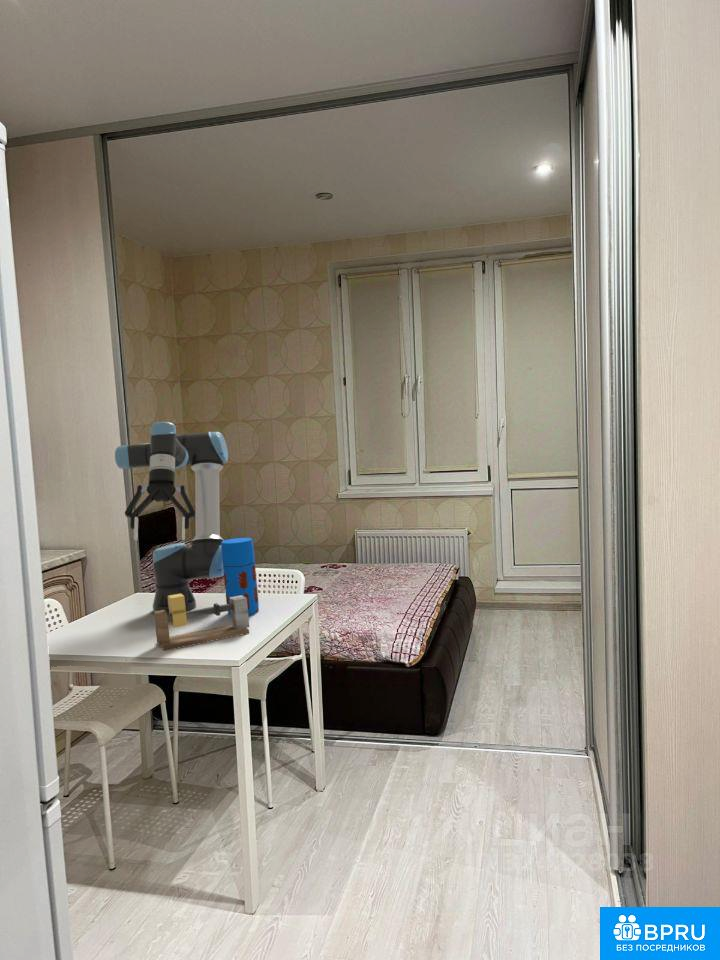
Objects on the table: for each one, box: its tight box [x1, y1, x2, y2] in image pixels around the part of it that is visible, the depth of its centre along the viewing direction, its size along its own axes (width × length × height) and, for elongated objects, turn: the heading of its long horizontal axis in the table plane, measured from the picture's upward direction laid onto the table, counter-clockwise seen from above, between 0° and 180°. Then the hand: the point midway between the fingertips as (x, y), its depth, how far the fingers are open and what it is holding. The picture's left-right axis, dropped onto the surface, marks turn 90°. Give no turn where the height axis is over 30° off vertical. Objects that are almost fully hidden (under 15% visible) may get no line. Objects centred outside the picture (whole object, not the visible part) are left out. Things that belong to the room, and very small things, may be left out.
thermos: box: [221, 537, 260, 617], centre depth 257 cm, size 11×11×25 cm
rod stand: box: [153, 595, 250, 651], centre depth 229 cm, size 10×28×10 cm, turn 117°
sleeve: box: [168, 594, 188, 629], centre depth 226 cm, size 4×4×9 cm
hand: (159, 539), depth 221 cm, fingers open, 13 cm apart
